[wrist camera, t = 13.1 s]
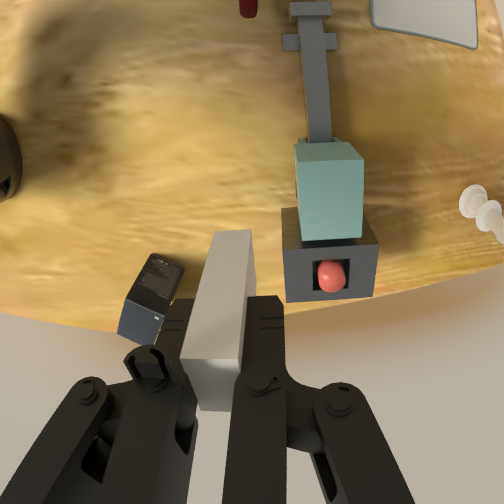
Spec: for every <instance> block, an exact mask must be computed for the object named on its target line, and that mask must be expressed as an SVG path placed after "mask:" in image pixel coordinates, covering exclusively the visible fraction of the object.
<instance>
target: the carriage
mask: <svg viewBox="0 0 504 504" xmlns="http://www.w3.org/2000/svg"><path fill="white" fill-rule="evenodd" d="M294 156H295V170H296V185H297V201H298V214H299V221H300V229H301V237H302V241H309V240H325V239H342V238H359V237H362V219H363V193H364V159H363V158H362V157H361V156H360V154H359V153H358V152H357V151H356V150H355V149H354V148H353V146H352V145H351V144H350V143H349V142H342V141H341V140H340V138H339V137H332V142H322V143H307V142H306V140H305V139H298V144H294Z"/></svg>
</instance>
